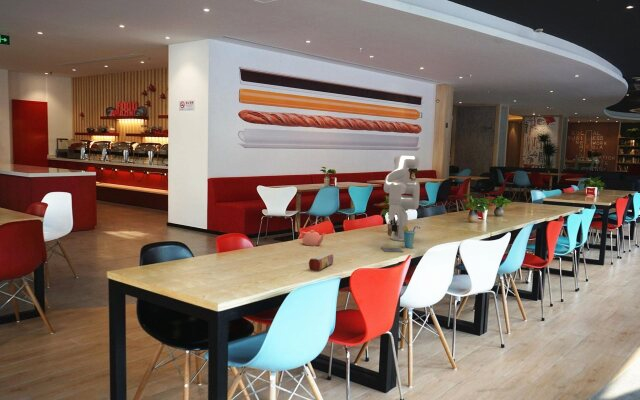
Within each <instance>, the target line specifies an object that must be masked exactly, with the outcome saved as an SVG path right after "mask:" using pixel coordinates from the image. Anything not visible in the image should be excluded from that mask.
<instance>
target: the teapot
mask: <svg viewBox="0 0 640 400" xmlns="http://www.w3.org/2000/svg"><path fill="white" fill-rule="evenodd" d="M300 235H301V238H302V244H303V246H308V247H318V246H320V245H321V243H322V242H323V240H324V237H325V235H326V232H323V233H322V234H321V236H320V233H319V232H317V231H315V229H311V230H310V231H307V232H306V231H301V233H300Z"/></svg>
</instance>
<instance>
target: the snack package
mask: <svg viewBox="0 0 640 400" xmlns="http://www.w3.org/2000/svg"><path fill="white" fill-rule="evenodd" d="M332 264H334V254H332V253H330V252H324V253H322V254H319V255H317V256H315V257H312V258H310V259H309V261H308V267H309V270H310V271H315V272H319V271H321V270H323V269H325V268H326V267H329V266H331V265H332Z"/></svg>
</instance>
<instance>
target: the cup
mask: <svg viewBox="0 0 640 400" xmlns="http://www.w3.org/2000/svg"><path fill="white" fill-rule="evenodd" d="M416 228H418V229H421V227H420V226H418V225H414V227H413V230H409V227H408V225H407V226H406V225H405V226H403V232H404V241H403V244H404V245H403V246H404V248H405V249H412V248H413V245H414V239H415V234H416V231H415V230H416Z"/></svg>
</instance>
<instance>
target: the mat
mask: <svg viewBox="0 0 640 400" xmlns="http://www.w3.org/2000/svg"><path fill="white" fill-rule="evenodd" d="M381 248H382V251H383V252H384V253H385V252H386V253H387V252H388V253H404V250H402V249H401V248H400V247H384V246H383V247H380V249H381Z"/></svg>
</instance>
